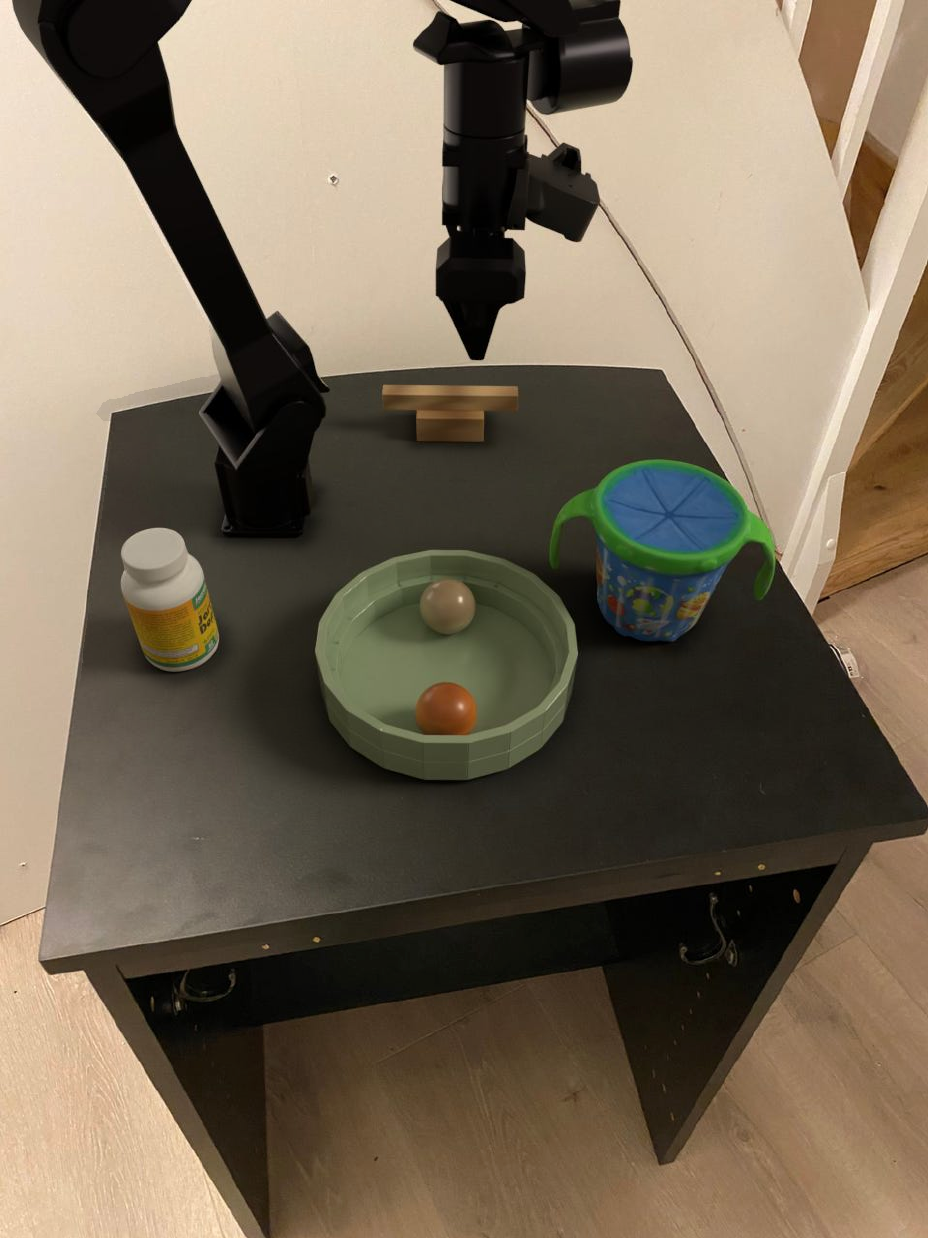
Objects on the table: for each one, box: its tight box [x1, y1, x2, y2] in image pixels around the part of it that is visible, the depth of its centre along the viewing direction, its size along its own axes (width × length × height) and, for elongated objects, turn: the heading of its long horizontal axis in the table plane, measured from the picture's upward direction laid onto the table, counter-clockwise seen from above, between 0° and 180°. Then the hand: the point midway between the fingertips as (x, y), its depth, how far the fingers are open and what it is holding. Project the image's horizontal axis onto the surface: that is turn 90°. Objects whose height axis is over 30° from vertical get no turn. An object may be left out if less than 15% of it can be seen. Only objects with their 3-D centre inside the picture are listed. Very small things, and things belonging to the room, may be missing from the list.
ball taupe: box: [420, 578, 476, 634], centre depth 67 cm, size 4×4×4 cm
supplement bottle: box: [120, 527, 220, 673], centre depth 64 cm, size 5×5×10 cm
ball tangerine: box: [415, 682, 477, 735], centre depth 60 cm, size 4×4×4 cm
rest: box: [415, 410, 485, 443], centre depth 85 cm, size 6×4×2 cm, turn 90°
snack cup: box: [548, 459, 776, 643], centre depth 67 cm, size 16×10×10 cm
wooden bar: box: [381, 384, 519, 412], centre depth 84 cm, size 12×2×2 cm, turn 90°
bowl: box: [314, 549, 579, 781], centre depth 64 cm, size 17×17×4 cm
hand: (477, 329), depth 77 cm, fingers open, 9 cm apart
